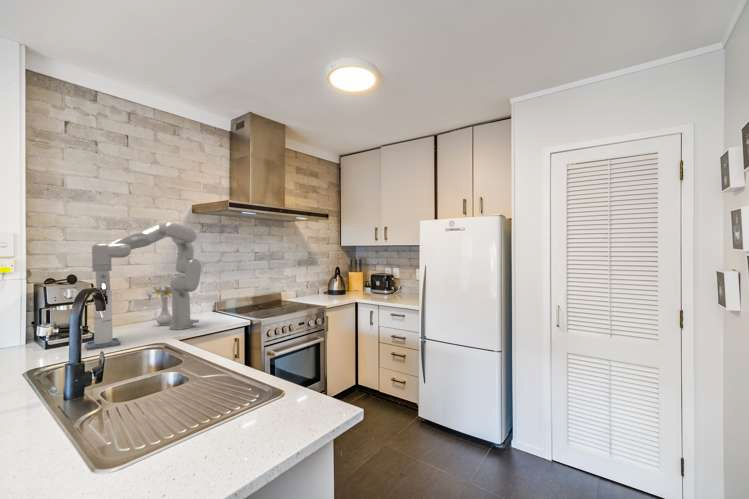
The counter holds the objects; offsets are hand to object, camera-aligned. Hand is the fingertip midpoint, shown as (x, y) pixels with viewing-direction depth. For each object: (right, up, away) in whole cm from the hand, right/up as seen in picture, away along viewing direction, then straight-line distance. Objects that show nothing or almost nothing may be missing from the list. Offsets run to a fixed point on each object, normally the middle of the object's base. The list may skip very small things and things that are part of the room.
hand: (102, 303), depth 170 cm
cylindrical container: (0, -19, 0) cm, 19 cm away
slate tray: (0, -21, 0) cm, 21 cm away
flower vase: (+3, -21, +45) cm, 50 cm away
